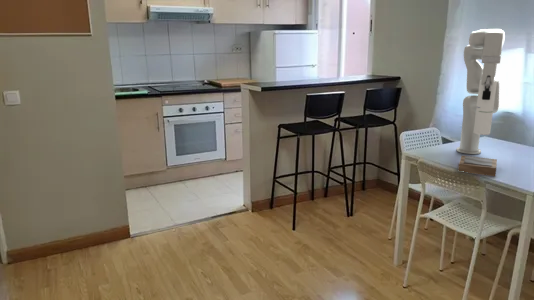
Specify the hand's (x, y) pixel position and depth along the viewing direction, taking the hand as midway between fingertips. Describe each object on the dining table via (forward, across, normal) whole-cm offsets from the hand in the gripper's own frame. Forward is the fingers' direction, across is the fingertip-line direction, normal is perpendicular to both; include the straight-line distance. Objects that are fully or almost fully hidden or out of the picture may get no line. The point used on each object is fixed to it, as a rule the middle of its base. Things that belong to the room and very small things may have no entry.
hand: (486, 98), depth 195 cm
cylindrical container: (+17, 0, 0) cm, 17 cm away
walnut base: (+35, 0, 0) cm, 35 cm away
